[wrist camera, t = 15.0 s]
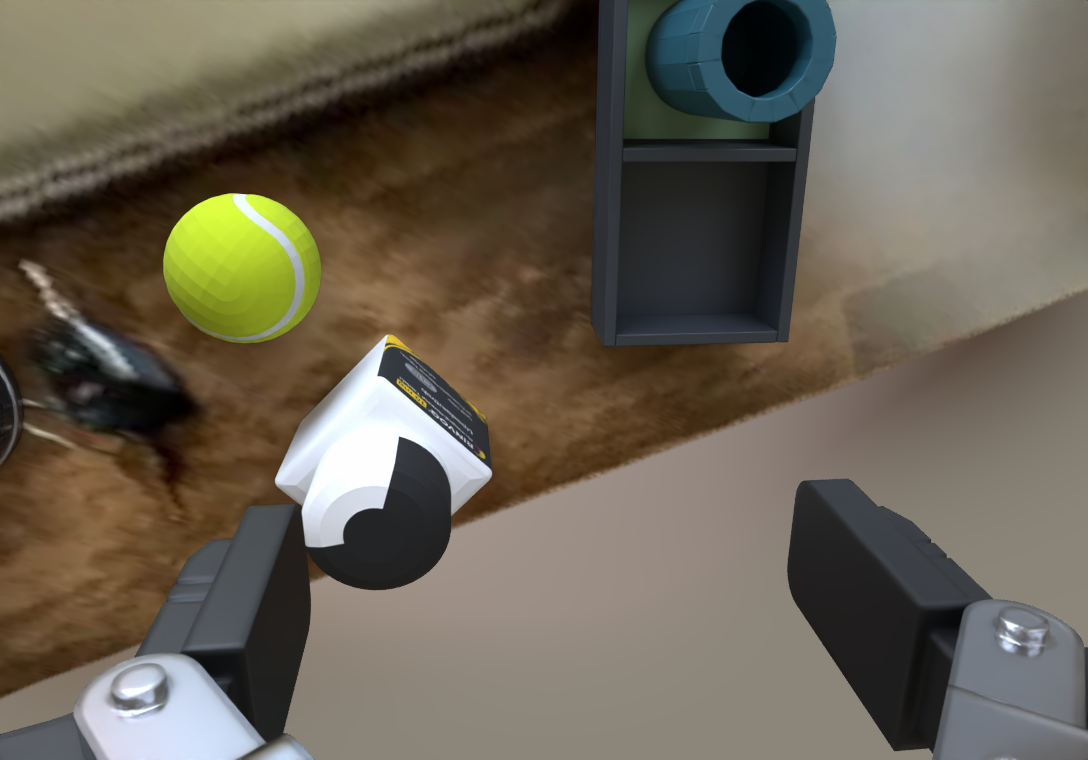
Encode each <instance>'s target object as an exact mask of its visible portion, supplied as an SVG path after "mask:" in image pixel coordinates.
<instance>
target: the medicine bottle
mask: <svg viewBox="0 0 1088 760" xmlns="http://www.w3.org/2000/svg"><path fill="white" fill-rule="evenodd" d="M491 477H492V467H491V457H490V447H489V436H488V426H487V419H486V417H485V416H484V415H483V414H482V413H481V412H479V411H478V410H477V409H476V408H475V407H474V406H473V405H472V404H470V403H469V402H468V401H467V400H466V399H465V398H464V397H463V396H461V395H460V394H459V393H458V392H457V391H456V390H455V389H454V388H452V387H451V386H450V385H449V384H448V383H447V382H446V381H445V380H443V379H442V378H441V377H440V376H439V375H438V374H437V373H436V372H434V371H433V370H432V369H431V368H430V367H429V366H428V365H427V364H425V363H424V362H423V361H422V360H421V359H420V358H419V357H417V356H416V355H415V354H414V353H413V352H412V351H411V350H410V349H408V348H407V347H406V346H405V345H404V344H403V343H402V342H401V341H399V340H398V339H397V338H396V337H395V336H393V335H387V336H385V337H384V338H383V339H382V340H381V341H380V342H379V343H378V344H377V345H376V346H375V347H374V348H373V349H372V350H371V351H370V352H369V353H368V354H367V355H366V356H365V357H364V358H363V359H362V360H361V361H360V362H359V363H358V364H357V365H356V366H355V367H354V368H353V369H352V370H351V371H350V372H349V373H348V374H347V375H346V376H345V377H344V378H343V379H342V380H341V382H340V383H339V384H338V385H337V386H336V387H335V388H334V389H333V390H332V391H331V392H330V393H329V394H328V395H327V396H326V397H325V398H324V399H323V400H322V401H321V402H320V403H319V404H318V405H317V406H316V407H315V408H314V409H313V410H312V411H311V412H310V413H309V414H308V415H307V416H306V417H305V418H304V419H303V420H302V421H301V423H300V425H299V427H298V429H297V431H296V434H295V436H294V438H293V440H292V442H291V445H290V447H289V449H288V451H287V454H286V456H285V458H284V460H283V462H282V465H281V467H280V469H279V471H278V474H277V476H276V478H275V484H276V486H277V487H278V488H279V489H281V490H282V491H283V492H284V493H286V494H287V495H288V496H290V497H291V498H292V499H294V500H295V501H296V502H297V503H299V504H300V505H301V506H303V508H302V519H303V527H304V537H305V546H306V550H307V552H308V554H309V555H310V557H311V558H312V560H313V561H314V562H315V563H316V565H317V566H318V567H319V568H320V569H321V570H323V571H324V572H325V573H326V574H327V575H329V576H330V577H332V578H334V579H335V580H337V581H339V582H341V583H343V584H346V585H349V586H352V587H355V588H360V589H366V590H386V589H393V588H397V587H401V586H404V585H407V584H409V583H412V582H414V581H415V580H417V579H419V578H421V577H422V576H424V575H425V574H426V573H427V572H429V571H430V570H431V569H432V568H433V567H434V566H435V565H436V564H437V563H438V561H439V560H440V559H441V557H442V555H443V554H444V552H445V550H446V548H447V545H448V542H449V538H450V533H451V516H452V515H453V514H454V513H455V512H456V511H457V510H458V509H459V508H460V507H461V506H462V505H464V504H465V503H466V502H467V501H468V500H469V499H470V498H471V497H472V496H473V495H474V494H475V493H476V492H477V491H478V490H479V489H480V488H482V487H483V486H484V485H485V484H486V483H487V482H488V481H489V480H490V478H491Z"/></svg>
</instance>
